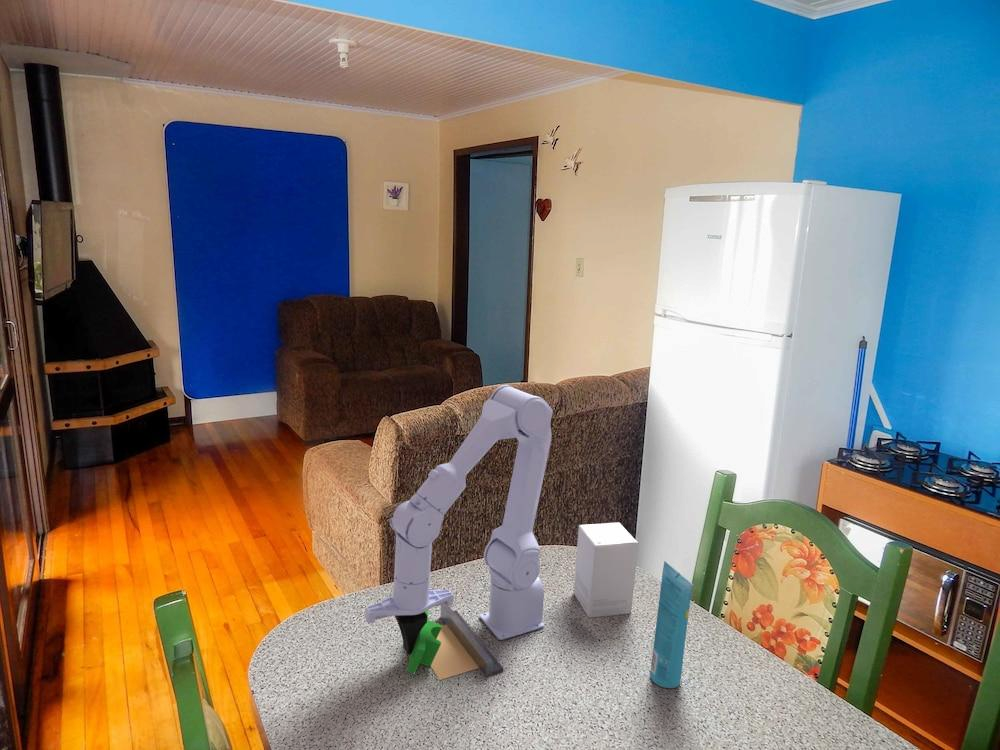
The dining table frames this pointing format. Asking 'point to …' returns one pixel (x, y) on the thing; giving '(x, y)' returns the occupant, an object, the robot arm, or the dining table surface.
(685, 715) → the dining table surface
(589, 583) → the supplement box
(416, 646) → the pipe clamp
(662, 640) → the tube
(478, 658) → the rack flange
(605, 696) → the dining table surface
